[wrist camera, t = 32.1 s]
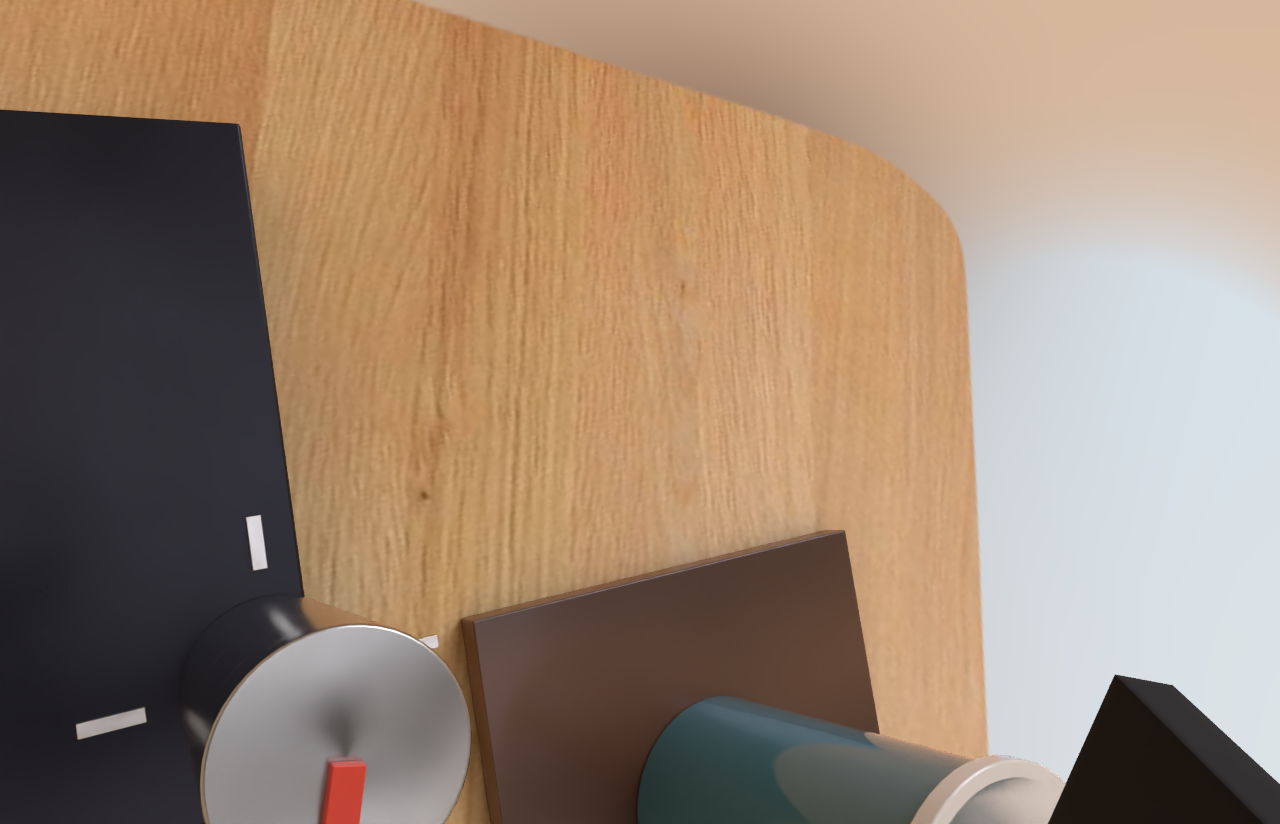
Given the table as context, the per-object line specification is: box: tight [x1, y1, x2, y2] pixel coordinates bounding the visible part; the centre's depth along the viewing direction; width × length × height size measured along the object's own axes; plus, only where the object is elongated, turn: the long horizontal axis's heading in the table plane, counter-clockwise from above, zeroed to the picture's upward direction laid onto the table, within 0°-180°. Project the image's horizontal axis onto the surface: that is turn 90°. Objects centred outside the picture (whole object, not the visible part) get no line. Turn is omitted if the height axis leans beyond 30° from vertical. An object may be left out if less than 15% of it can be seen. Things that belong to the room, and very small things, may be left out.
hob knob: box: [178, 595, 471, 824], centre depth 18 cm, size 4×4×9 cm
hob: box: [0, 110, 439, 824], centre depth 21 cm, size 19×17×3 cm
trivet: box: [461, 530, 880, 824], centre depth 31 cm, size 16×16×1 cm
